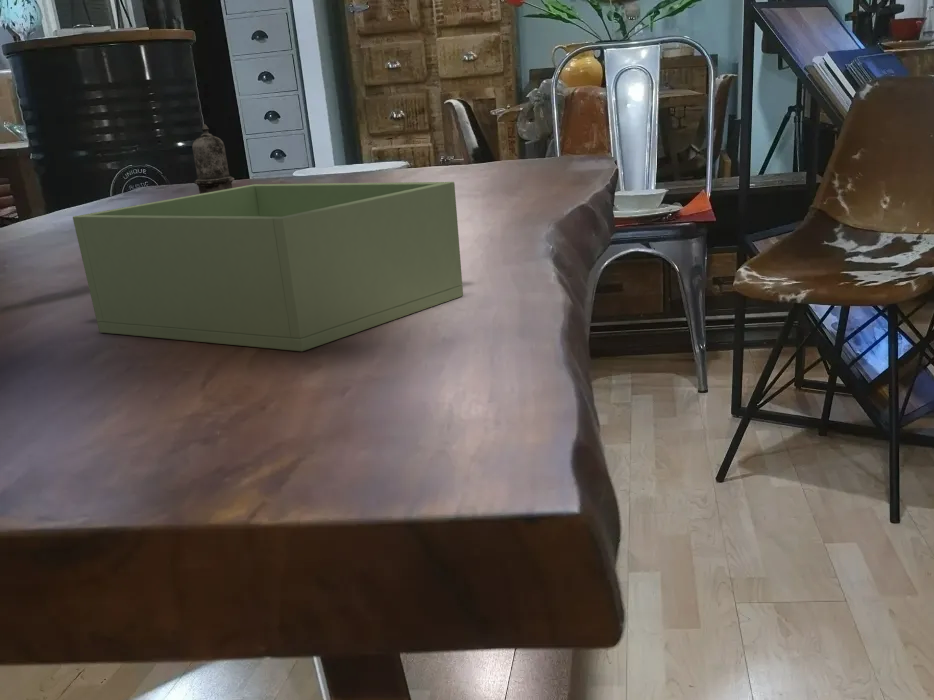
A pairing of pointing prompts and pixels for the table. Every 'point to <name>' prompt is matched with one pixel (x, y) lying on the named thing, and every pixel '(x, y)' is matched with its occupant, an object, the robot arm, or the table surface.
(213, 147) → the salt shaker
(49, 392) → the table surface
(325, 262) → the basket
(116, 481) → the table surface
